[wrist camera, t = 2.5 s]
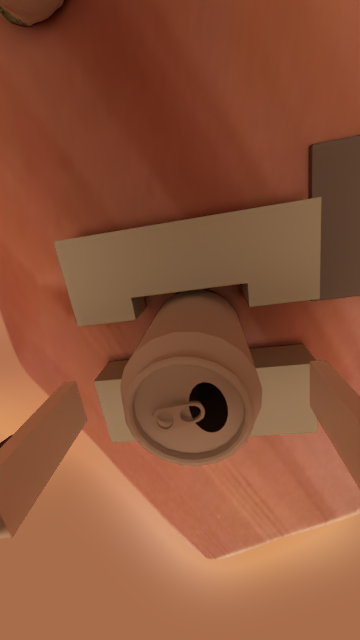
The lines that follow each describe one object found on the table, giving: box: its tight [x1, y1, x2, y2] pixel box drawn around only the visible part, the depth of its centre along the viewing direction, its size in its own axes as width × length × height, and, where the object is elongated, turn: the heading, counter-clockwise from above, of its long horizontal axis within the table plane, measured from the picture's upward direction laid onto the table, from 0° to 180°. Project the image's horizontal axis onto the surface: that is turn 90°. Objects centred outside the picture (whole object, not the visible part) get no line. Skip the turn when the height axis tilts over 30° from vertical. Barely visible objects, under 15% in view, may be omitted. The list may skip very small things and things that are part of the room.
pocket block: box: [54, 197, 321, 442], centre depth 22 cm, size 18×18×4 cm
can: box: [120, 290, 262, 466], centre depth 18 cm, size 8×8×12 cm
